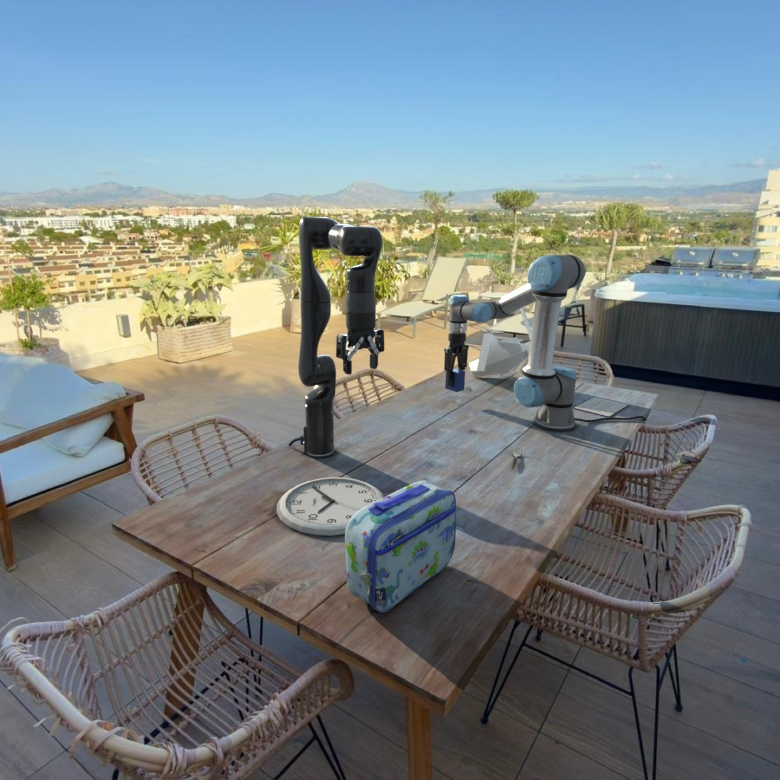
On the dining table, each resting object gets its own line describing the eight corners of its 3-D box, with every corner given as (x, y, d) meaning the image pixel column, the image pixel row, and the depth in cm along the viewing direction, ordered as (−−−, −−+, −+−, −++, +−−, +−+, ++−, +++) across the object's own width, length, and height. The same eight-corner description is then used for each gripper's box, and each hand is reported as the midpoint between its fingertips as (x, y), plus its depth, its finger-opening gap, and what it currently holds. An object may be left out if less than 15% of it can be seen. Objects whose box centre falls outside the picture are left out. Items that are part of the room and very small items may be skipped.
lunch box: (374, 626, 100) (375, 530, 93) (338, 598, 107) (337, 508, 101) (459, 568, 117) (465, 484, 111) (424, 547, 124) (427, 467, 118)
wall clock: (392, 527, 129) (268, 531, 127) (391, 533, 130) (269, 537, 127) (383, 473, 158) (282, 475, 155) (383, 478, 158) (282, 480, 156)
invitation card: (608, 416, 214) (573, 407, 224) (608, 416, 214) (573, 408, 224) (628, 404, 229) (594, 396, 238) (628, 405, 229) (594, 397, 238)
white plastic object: (489, 418, 267) (470, 395, 242) (471, 346, 289) (451, 318, 264) (561, 394, 254) (547, 368, 230) (535, 321, 277) (521, 289, 252)
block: (452, 386, 232) (453, 367, 230) (464, 390, 228) (465, 371, 225) (445, 388, 229) (445, 369, 227) (457, 392, 224) (458, 372, 222)
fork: (508, 469, 165) (508, 463, 165) (514, 450, 180) (515, 445, 179) (516, 471, 165) (516, 465, 164) (522, 451, 179) (522, 446, 178)
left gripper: (372, 305, 139) (372, 364, 144) (329, 309, 130) (330, 372, 135) (391, 308, 134) (390, 369, 139) (347, 313, 125) (348, 379, 129)
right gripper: (464, 328, 229) (461, 379, 236) (436, 333, 218) (434, 386, 225) (477, 330, 224) (474, 383, 231) (449, 335, 213) (447, 390, 219)
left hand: (360, 371), depth 137 cm, fingers open, 8 cm apart
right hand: (454, 384), depth 228 cm, fingers closed on block, 5 cm apart
